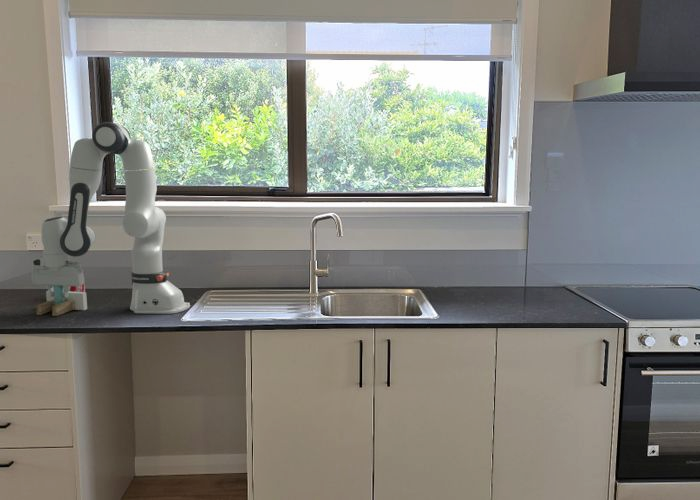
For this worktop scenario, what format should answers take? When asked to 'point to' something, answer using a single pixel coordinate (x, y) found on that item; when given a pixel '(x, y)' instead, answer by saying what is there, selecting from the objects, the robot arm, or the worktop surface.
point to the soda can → (78, 288)
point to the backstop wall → (78, 299)
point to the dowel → (58, 294)
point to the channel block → (55, 307)
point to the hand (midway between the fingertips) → (59, 296)
